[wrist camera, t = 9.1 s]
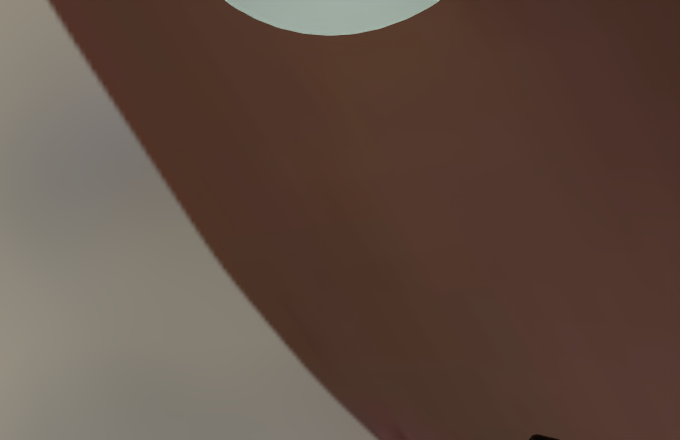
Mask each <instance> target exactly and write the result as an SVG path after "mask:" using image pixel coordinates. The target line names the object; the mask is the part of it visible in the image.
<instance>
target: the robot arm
mask: <svg viewBox="0 0 680 440" xmlns="http://www.w3.org/2000/svg"><path fill="white" fill-rule="evenodd" d="M529 440H559V439H555V438H551V437H547V436H543V435H538V434H536V435H532V436H531V438H530V439H529Z"/></svg>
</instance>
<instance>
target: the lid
mask: <svg viewBox="0 0 680 440" xmlns="http://www.w3.org/2000/svg"><path fill="white" fill-rule="evenodd" d="M225 1H226V2H228V3H229V4H230V5H232V6H233V7H235V8H237V9H238V10H240V11H242V12H244V13H246V14H248V15H249V16H251V17H253V18H255V19H257V20H260V21H262V22H265V23H268V24H270V25H273V26H276V27H278V28H282V29H286V30H290V31H295V32H299V33H304V34H316V35H328V36H330V35H346V34H356V33H361V32H366V31H371V30H376V29H380V28H383V27H386V26H389V25H391V24H394V23H397V22H400V21H403V20H406V19H408V18H410V17H412V16H414V15H416V14H418V13H419V12H421V11H423V10H425V9H427V8H429V7H431V6H432V5H434V4H435V3H437V2H438V1H440V0H225Z"/></svg>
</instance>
